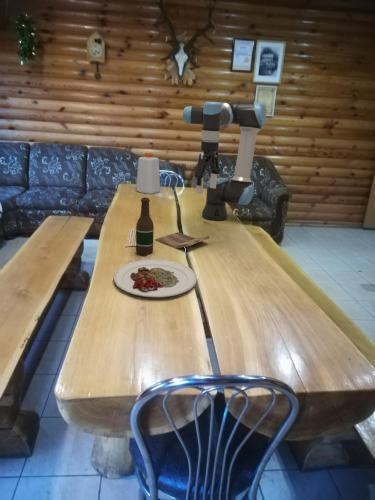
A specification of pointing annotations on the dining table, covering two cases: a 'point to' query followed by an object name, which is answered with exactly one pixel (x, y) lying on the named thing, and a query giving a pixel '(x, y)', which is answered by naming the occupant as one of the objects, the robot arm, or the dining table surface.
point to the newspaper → (131, 238)
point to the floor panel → (174, 239)
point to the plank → (191, 242)
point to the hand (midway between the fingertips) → (206, 190)
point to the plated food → (155, 278)
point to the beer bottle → (144, 230)
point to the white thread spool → (148, 174)
